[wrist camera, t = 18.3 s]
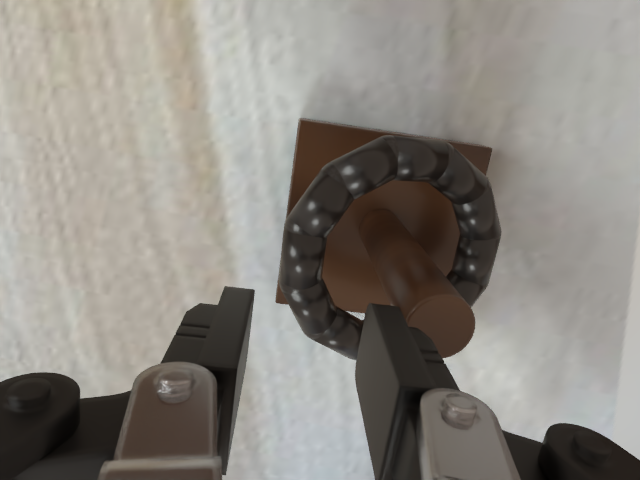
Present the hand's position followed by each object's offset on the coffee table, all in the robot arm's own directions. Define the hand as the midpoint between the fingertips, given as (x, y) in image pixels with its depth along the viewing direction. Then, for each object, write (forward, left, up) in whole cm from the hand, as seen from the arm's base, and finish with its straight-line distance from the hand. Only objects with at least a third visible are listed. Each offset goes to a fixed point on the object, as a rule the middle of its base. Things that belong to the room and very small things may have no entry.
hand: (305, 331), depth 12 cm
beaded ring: (0, +4, -7) cm, 8 cm away
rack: (0, +4, -13) cm, 13 cm away
